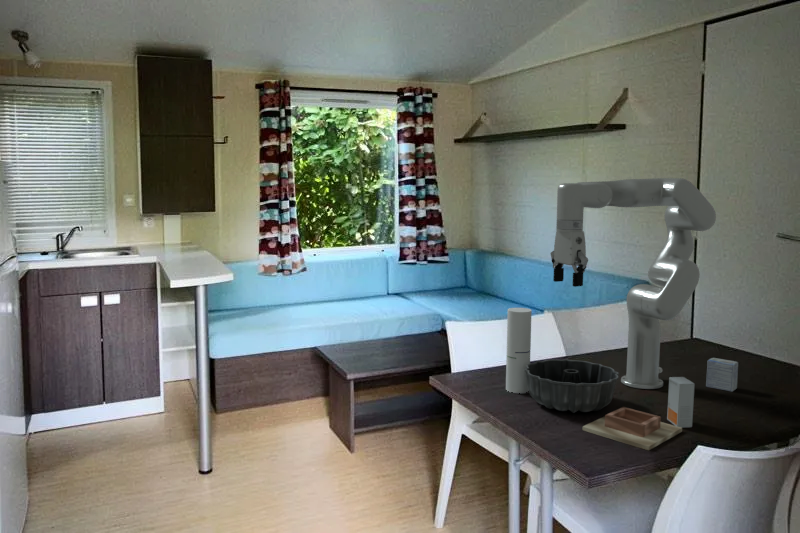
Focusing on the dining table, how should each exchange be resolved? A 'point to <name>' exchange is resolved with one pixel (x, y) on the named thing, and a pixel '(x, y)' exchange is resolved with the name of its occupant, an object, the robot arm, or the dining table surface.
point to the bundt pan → (571, 384)
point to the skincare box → (680, 401)
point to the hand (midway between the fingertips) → (567, 283)
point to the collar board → (633, 428)
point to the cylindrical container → (518, 349)
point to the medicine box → (722, 374)
